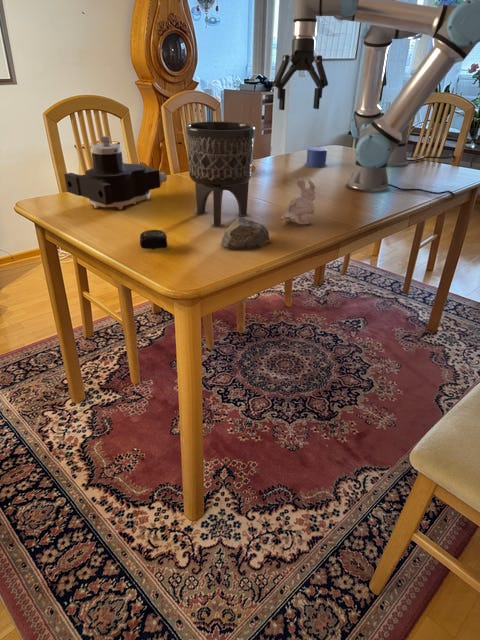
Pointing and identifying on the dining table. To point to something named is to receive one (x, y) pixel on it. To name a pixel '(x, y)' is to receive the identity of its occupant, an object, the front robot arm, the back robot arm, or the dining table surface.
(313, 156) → the blue cylinder
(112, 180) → the mechanical component
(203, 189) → the planter
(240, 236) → the rock
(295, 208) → the figurine
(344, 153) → the dining table surface
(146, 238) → the tape measure
